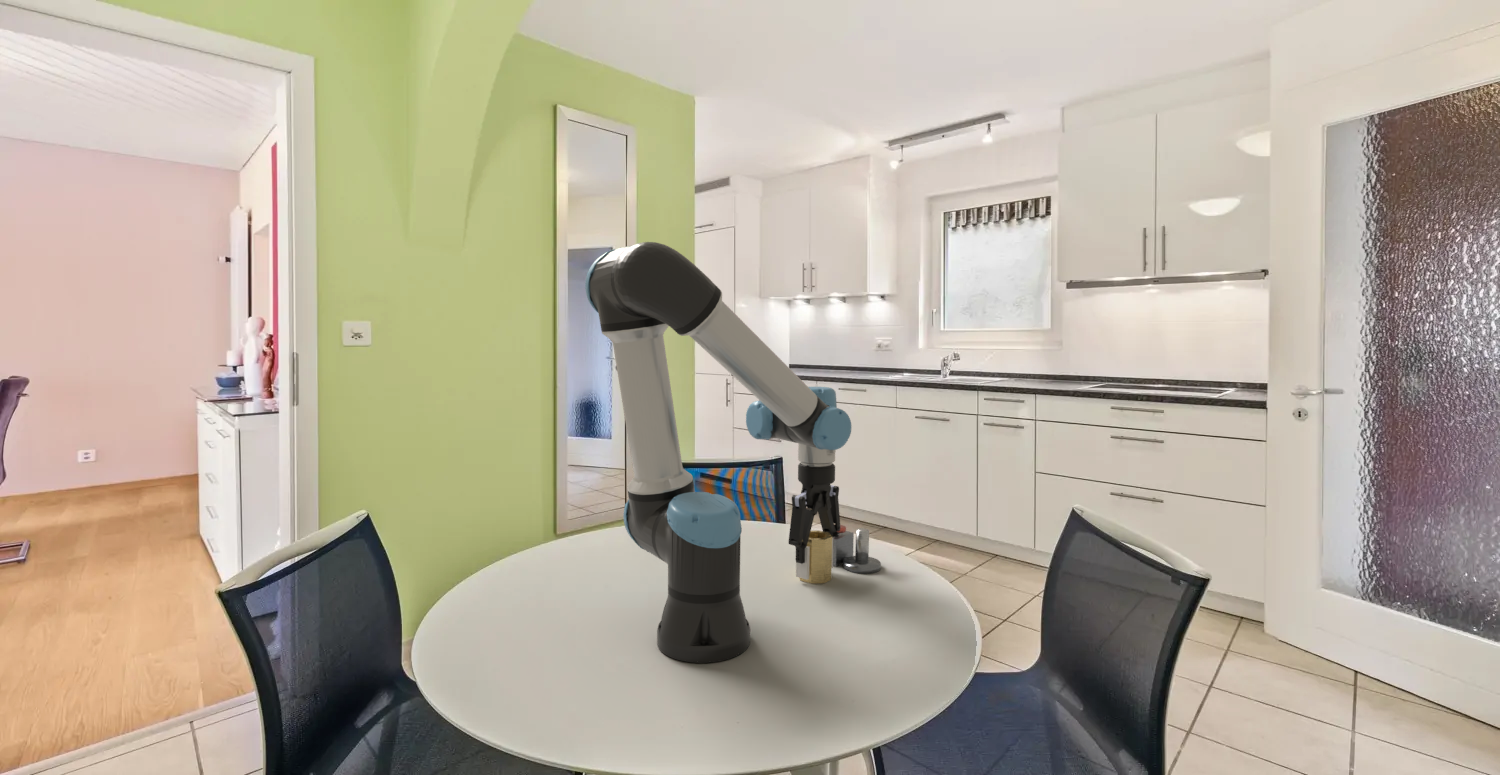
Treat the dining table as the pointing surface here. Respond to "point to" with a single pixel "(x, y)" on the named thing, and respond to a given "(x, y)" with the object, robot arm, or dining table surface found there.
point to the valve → (861, 559)
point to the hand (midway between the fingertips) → (814, 571)
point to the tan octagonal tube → (819, 557)
